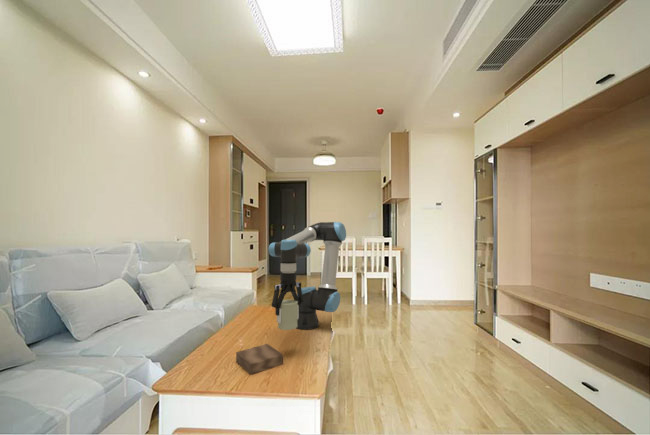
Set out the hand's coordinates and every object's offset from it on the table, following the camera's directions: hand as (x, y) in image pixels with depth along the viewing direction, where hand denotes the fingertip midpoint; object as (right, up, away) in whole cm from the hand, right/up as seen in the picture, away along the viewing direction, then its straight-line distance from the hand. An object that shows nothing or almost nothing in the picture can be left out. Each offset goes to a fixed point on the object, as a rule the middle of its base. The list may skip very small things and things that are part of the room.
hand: (287, 320), depth 132 cm
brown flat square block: (-11, -15, -10) cm, 21 cm away
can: (0, -3, 0) cm, 3 cm away
